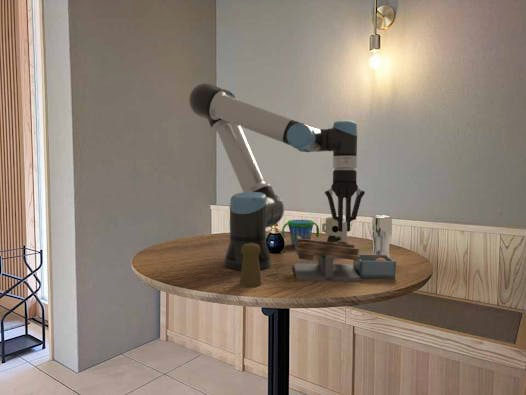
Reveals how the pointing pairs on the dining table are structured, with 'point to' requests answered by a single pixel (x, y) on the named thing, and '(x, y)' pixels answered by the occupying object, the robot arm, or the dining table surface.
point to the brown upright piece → (250, 265)
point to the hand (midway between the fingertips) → (343, 241)
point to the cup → (375, 267)
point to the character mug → (331, 230)
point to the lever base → (325, 271)
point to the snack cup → (300, 229)
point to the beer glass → (381, 234)
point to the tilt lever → (325, 249)
